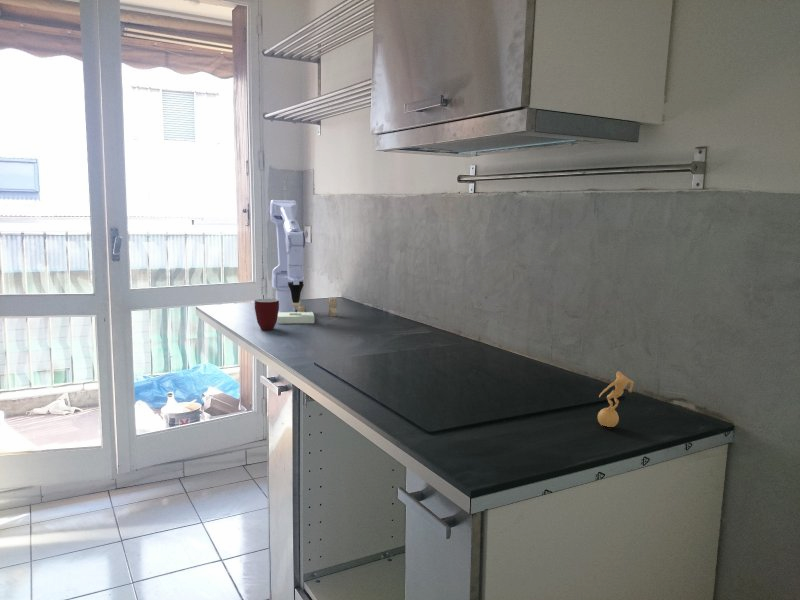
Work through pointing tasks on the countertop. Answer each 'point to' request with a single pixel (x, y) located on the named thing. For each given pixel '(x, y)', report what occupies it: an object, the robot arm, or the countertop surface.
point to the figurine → (609, 414)
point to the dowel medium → (297, 303)
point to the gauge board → (295, 317)
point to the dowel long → (332, 307)
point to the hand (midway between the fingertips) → (295, 301)
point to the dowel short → (301, 309)
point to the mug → (266, 313)
